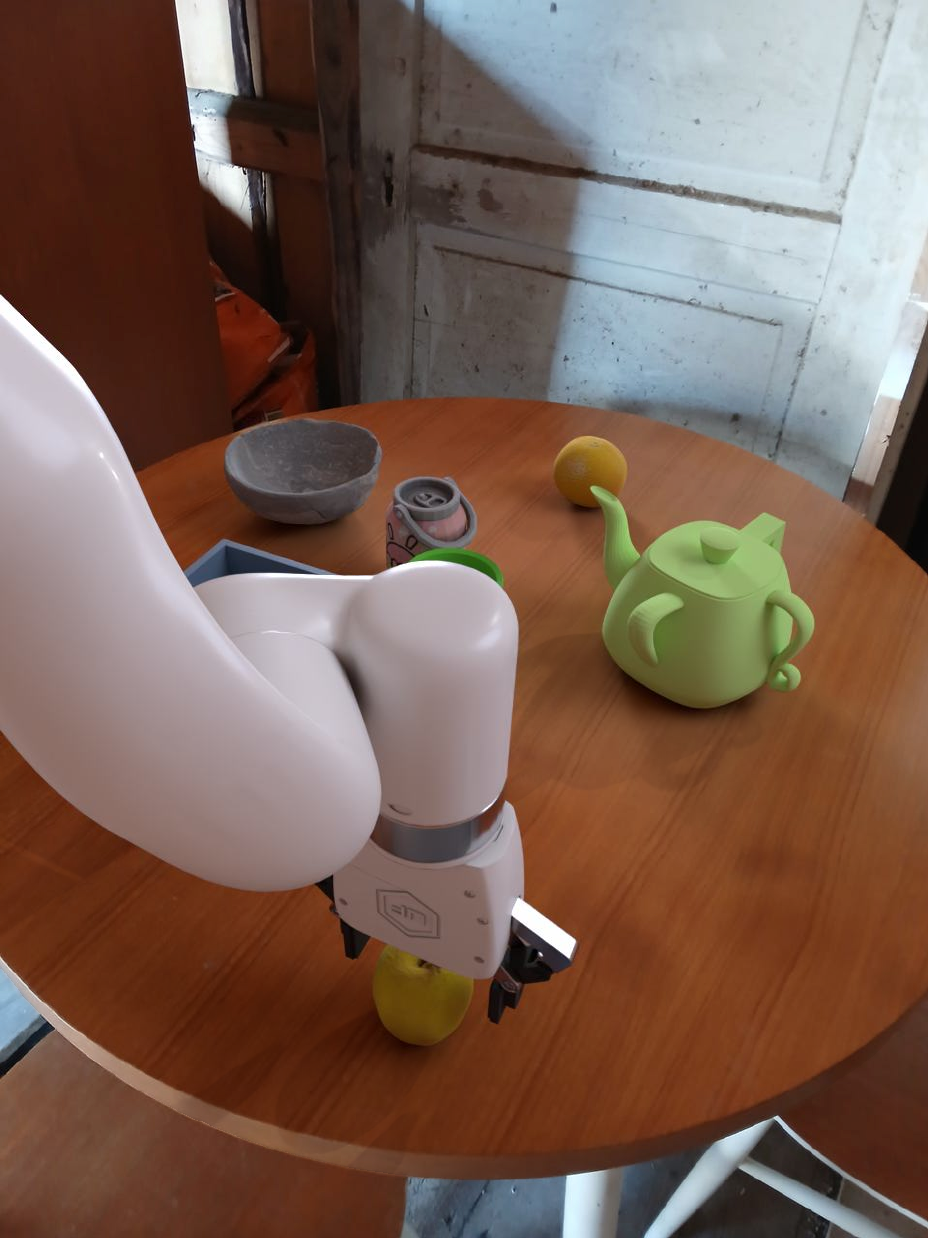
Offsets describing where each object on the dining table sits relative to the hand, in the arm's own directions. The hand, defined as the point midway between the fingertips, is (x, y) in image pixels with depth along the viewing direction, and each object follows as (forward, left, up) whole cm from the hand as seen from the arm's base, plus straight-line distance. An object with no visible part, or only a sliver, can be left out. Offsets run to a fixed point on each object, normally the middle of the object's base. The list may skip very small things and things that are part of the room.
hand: (430, 970), depth 56 cm
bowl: (+50, +40, -6) cm, 64 cm away
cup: (+32, +13, -6) cm, 35 cm away
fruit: (+68, +11, -6) cm, 69 cm away
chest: (+20, +28, -6) cm, 35 cm away
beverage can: (+42, +20, -6) cm, 47 cm away
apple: (0, 0, -6) cm, 6 cm away
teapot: (+45, -6, -6) cm, 45 cm away
